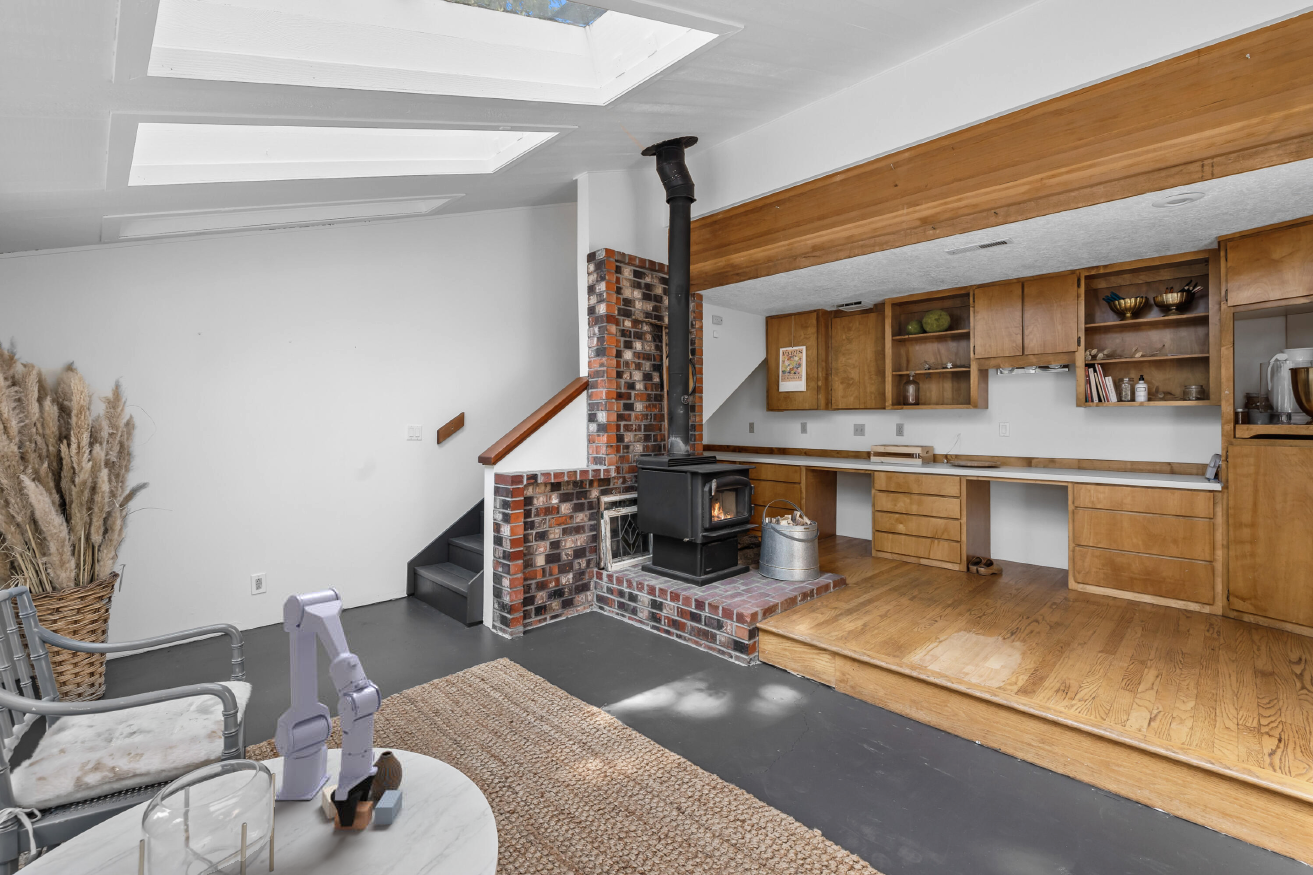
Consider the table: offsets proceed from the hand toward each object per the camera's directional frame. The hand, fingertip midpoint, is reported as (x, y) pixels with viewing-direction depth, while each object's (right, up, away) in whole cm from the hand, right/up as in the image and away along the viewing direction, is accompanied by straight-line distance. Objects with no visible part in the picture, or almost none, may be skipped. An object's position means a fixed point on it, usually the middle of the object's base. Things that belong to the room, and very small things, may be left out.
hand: (353, 815), depth 120 cm
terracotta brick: (0, -2, 0) cm, 2 cm away
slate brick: (+6, -2, +3) cm, 7 cm away
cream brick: (-7, -2, +4) cm, 8 cm away
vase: (+1, -2, +11) cm, 11 cm away
